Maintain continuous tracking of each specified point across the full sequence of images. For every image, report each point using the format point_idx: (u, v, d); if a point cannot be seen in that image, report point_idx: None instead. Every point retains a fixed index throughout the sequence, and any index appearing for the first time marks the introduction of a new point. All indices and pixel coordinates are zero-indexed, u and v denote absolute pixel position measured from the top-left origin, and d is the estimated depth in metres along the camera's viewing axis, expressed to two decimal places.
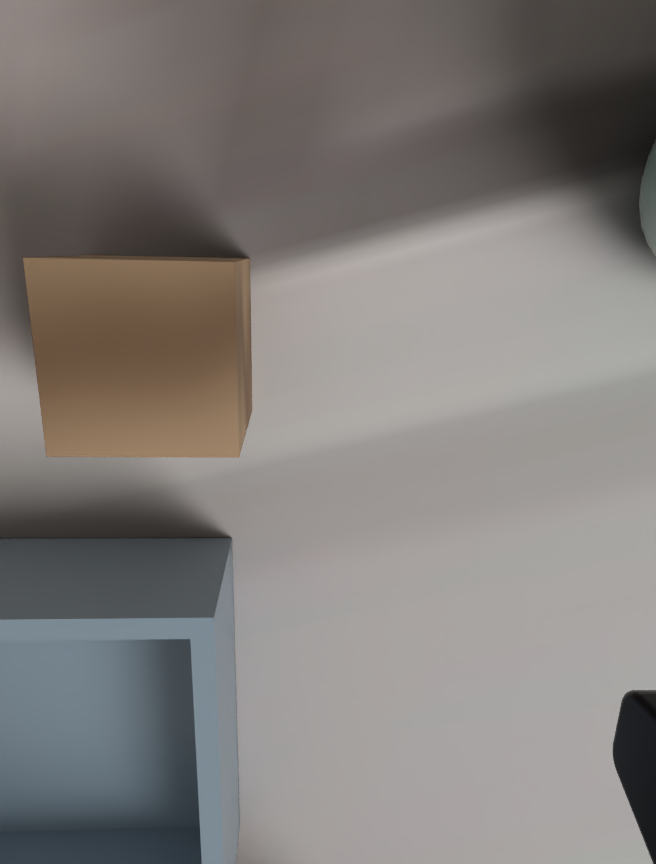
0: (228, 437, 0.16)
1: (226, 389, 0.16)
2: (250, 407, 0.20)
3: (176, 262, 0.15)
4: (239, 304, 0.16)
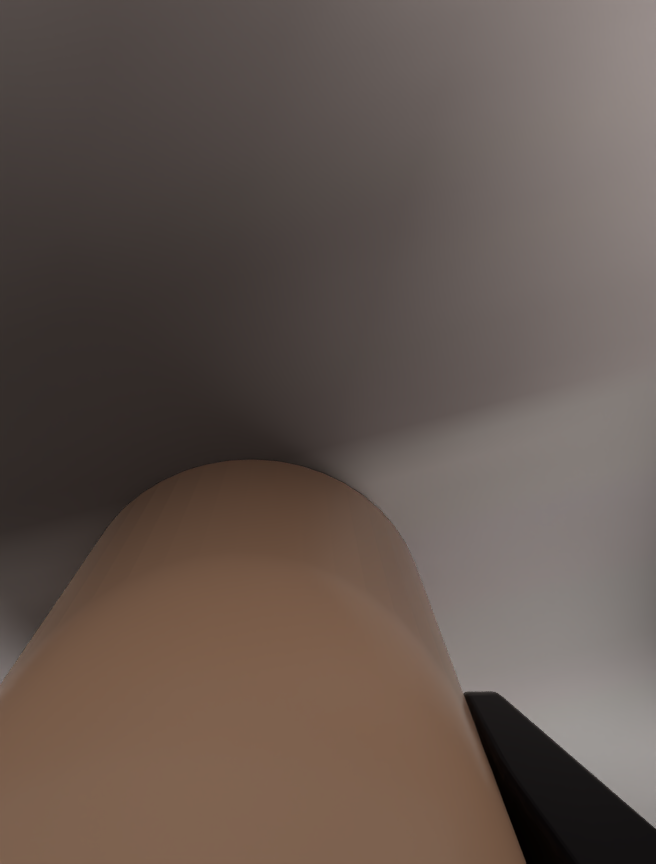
0: None
1: None
2: None
3: None
4: None
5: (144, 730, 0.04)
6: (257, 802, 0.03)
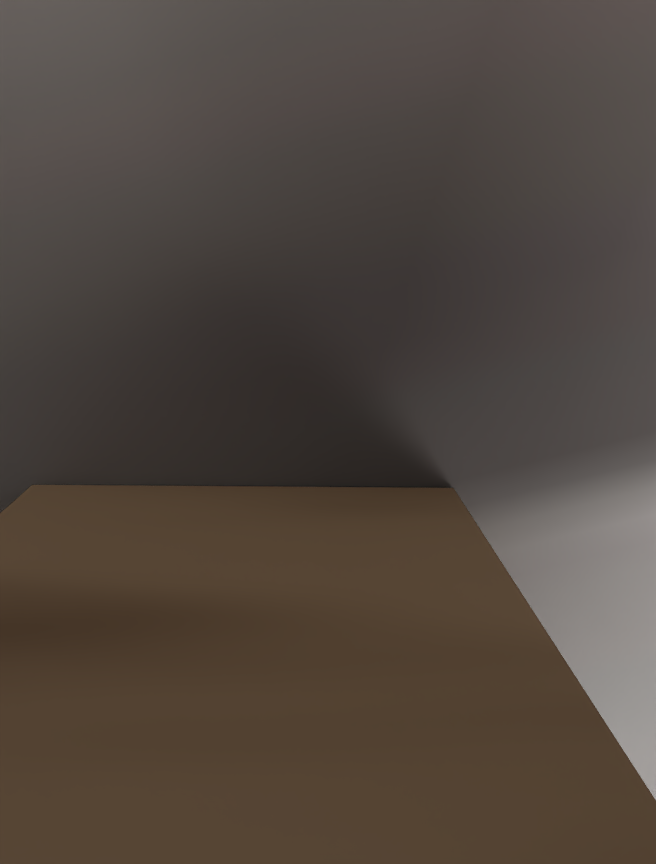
0: None
1: None
2: None
3: None
4: None
5: None
6: None
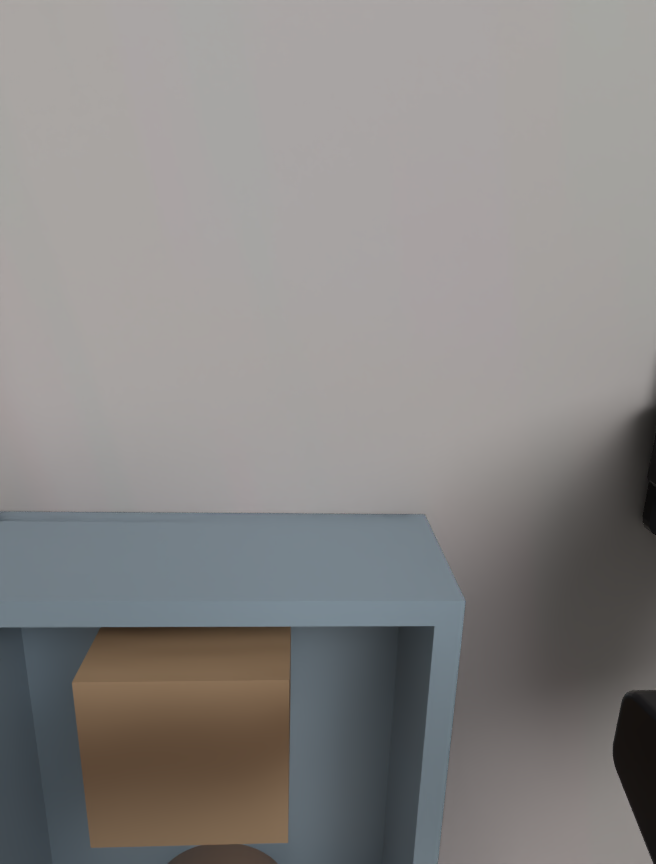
0: (277, 826, 0.16)
1: (277, 786, 0.15)
2: None
3: (229, 682, 0.14)
4: None
5: None
6: None
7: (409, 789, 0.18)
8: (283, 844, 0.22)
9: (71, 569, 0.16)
